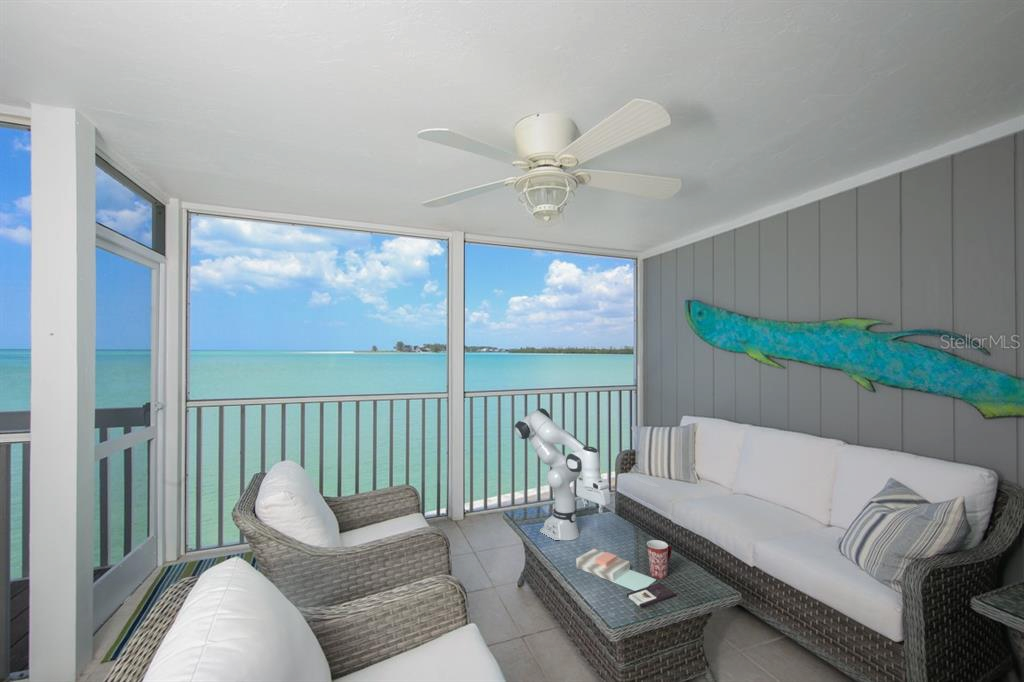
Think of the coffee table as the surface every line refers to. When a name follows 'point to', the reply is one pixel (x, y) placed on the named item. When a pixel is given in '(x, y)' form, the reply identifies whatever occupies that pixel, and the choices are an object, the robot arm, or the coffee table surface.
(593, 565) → the striped beige block
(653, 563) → the mug
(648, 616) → the coffee table surface
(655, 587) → the chocolate bar
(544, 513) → the coffee table surface
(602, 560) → the salmon pink eraser
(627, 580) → the mat
